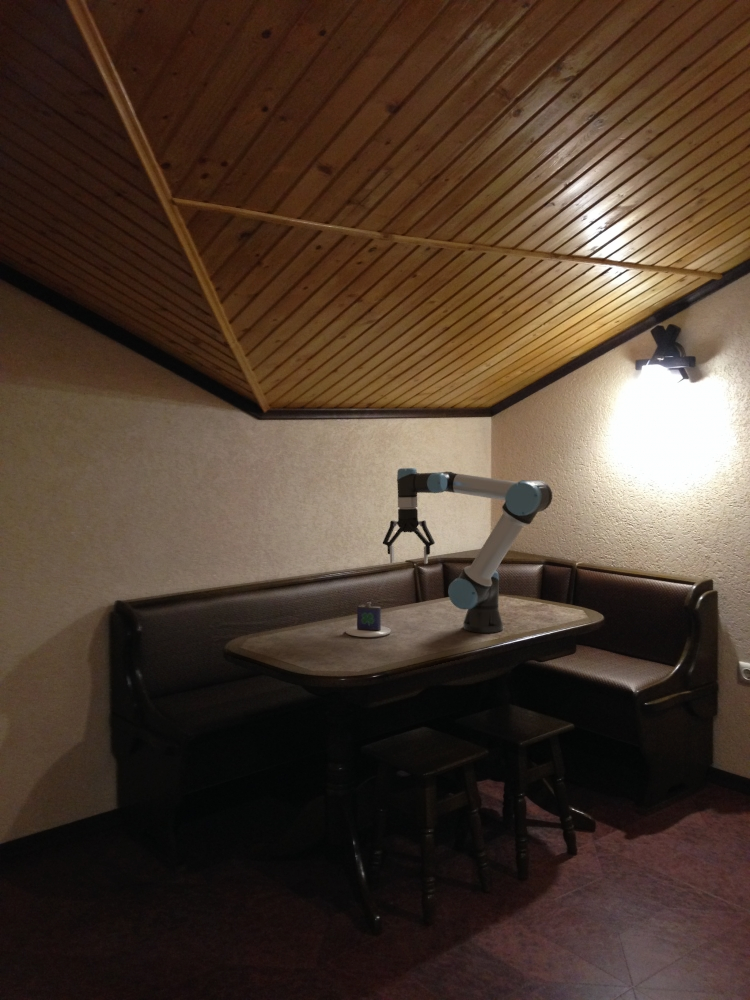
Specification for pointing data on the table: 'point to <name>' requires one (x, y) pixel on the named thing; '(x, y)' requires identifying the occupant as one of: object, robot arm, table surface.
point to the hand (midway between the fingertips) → (409, 563)
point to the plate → (368, 632)
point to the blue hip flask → (368, 618)
